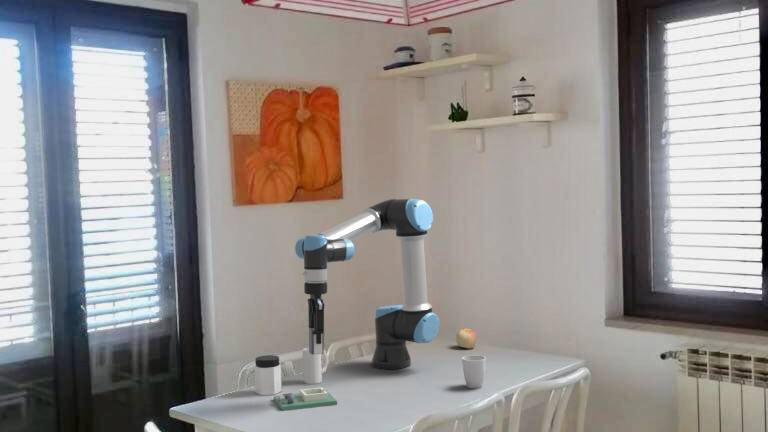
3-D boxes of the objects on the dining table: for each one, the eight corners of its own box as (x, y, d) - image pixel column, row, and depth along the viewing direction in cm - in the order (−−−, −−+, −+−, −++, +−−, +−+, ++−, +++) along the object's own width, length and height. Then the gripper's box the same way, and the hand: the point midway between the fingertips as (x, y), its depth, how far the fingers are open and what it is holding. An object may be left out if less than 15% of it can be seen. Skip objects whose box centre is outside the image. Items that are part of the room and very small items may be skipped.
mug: (309, 385, 288) (308, 351, 288) (299, 381, 294) (298, 348, 293) (333, 380, 294) (332, 347, 294) (323, 377, 300) (322, 344, 299)
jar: (265, 388, 286) (264, 354, 286) (285, 390, 283) (284, 355, 282) (251, 394, 278) (250, 359, 278) (271, 396, 275) (270, 361, 274)
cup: (487, 384, 285) (487, 355, 284) (484, 390, 277) (483, 360, 276) (464, 382, 287) (464, 354, 286) (460, 388, 279) (460, 360, 279)
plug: (322, 351, 272) (322, 327, 272) (325, 353, 268) (325, 329, 268) (309, 352, 271) (308, 328, 270) (311, 354, 267) (311, 330, 266)
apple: (466, 345, 350) (465, 326, 350) (481, 348, 344) (481, 329, 343) (451, 348, 345) (451, 329, 344) (466, 351, 338) (466, 332, 338)
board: (326, 393, 277) (326, 383, 277) (337, 404, 263) (336, 393, 263) (273, 399, 271) (273, 388, 271) (282, 410, 258) (281, 399, 258)
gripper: (299, 279, 275) (299, 348, 276) (310, 284, 259) (311, 358, 260) (320, 278, 278) (321, 346, 279) (333, 283, 262) (333, 356, 262)
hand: (316, 352), depth 269 cm, fingers closed on plug, 4 cm apart
